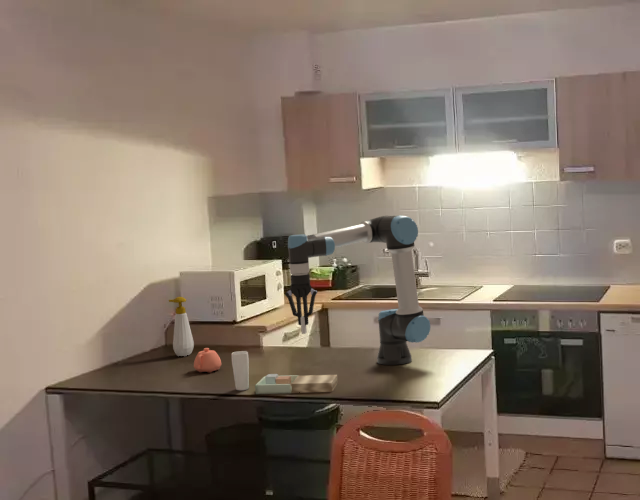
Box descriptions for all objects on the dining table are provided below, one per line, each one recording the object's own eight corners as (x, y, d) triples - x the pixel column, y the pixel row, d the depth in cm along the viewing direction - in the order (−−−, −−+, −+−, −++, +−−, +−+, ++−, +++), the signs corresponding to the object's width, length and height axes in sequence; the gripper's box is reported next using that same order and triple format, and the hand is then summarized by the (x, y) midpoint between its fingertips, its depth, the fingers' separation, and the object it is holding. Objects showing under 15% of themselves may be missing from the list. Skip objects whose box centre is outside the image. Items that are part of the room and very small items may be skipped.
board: (337, 383, 374) (337, 374, 374) (332, 391, 360) (331, 382, 360) (298, 384, 377) (298, 375, 377) (291, 392, 363) (291, 383, 363)
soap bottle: (181, 352, 463) (176, 294, 461) (198, 353, 459) (194, 294, 456) (166, 357, 452) (161, 298, 449) (183, 358, 447) (178, 298, 445)
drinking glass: (234, 388, 378) (231, 351, 376) (250, 386, 378) (248, 350, 377) (233, 391, 371) (231, 354, 370) (250, 390, 372) (248, 353, 370)
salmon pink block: (291, 385, 373) (290, 375, 372) (288, 388, 368) (287, 378, 368) (279, 386, 374) (278, 376, 373) (276, 389, 369) (275, 379, 369)
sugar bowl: (226, 368, 418) (225, 345, 417) (210, 375, 406) (208, 352, 405) (203, 367, 424) (202, 345, 423) (186, 374, 411) (185, 351, 410)
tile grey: (277, 373, 373) (268, 374, 374) (275, 376, 368) (265, 377, 369) (278, 386, 374) (269, 386, 374) (276, 389, 369) (266, 389, 370)
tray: (298, 383, 378) (298, 375, 378) (290, 393, 362) (289, 384, 362) (265, 384, 381) (264, 376, 380) (255, 394, 365) (255, 385, 365)
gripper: (317, 272, 368) (322, 330, 370) (285, 273, 370) (290, 332, 372) (314, 274, 360) (318, 334, 362) (281, 275, 363) (286, 335, 365)
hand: (304, 333), depth 367 cm, fingers closed
